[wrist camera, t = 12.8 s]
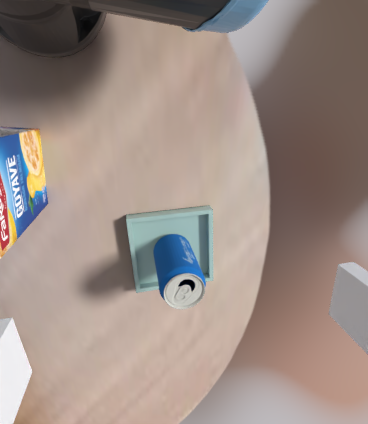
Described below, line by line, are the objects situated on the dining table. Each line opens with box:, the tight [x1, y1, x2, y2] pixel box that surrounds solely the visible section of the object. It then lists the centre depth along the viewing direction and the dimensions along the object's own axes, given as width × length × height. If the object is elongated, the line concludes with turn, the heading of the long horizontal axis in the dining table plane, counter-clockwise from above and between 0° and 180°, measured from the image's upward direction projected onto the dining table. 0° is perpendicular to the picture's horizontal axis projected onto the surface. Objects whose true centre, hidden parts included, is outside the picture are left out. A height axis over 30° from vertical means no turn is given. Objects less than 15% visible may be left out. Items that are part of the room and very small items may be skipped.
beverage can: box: [153, 234, 206, 309], centre depth 41 cm, size 6×6×12 cm
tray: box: [126, 205, 213, 293], centre depth 46 cm, size 14×14×2 cm
